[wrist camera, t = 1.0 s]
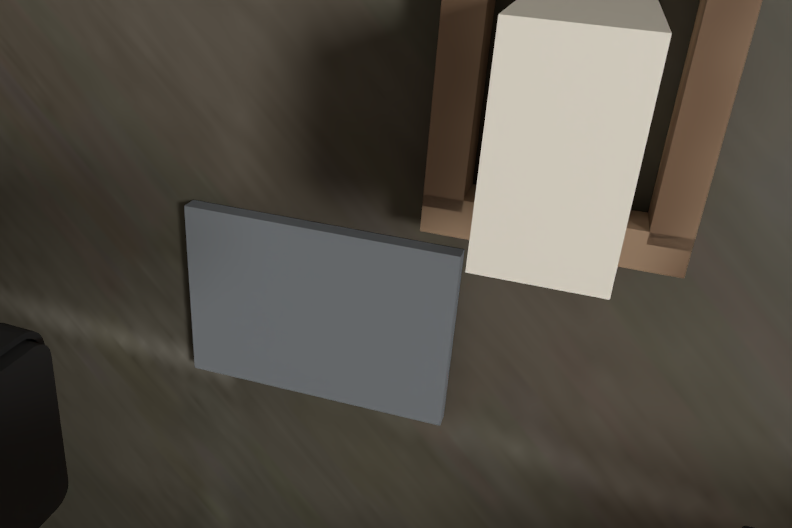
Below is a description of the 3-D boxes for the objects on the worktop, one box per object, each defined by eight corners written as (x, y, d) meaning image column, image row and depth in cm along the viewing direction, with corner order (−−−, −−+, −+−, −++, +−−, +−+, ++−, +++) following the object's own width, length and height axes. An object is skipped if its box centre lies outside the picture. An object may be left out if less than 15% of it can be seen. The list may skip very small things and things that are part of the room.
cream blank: (655, -8, 25) (672, 33, 17) (614, 182, 28) (609, 299, 20) (540, -20, 26) (498, 14, 17) (512, 166, 29) (465, 272, 21)
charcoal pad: (464, 249, 31) (460, 256, 31) (443, 415, 35) (439, 425, 35) (192, 199, 34) (184, 205, 33) (202, 359, 38) (194, 367, 37)
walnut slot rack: (764, -46, 24) (774, -43, 22) (680, 256, 29) (684, 278, 27) (459, -72, 26) (448, -72, 24) (431, 213, 31) (420, 231, 29)
